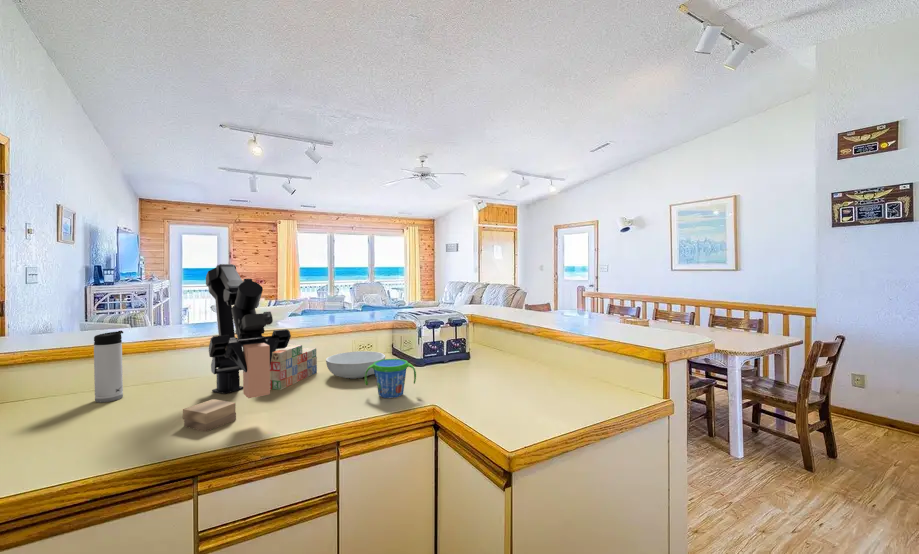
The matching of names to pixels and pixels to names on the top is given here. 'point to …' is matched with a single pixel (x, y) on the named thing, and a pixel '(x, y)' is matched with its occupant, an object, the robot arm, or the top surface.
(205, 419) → the tower top
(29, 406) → the top surface
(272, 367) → the stack of blocks
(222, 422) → the tower base
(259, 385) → the pillar
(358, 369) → the serving bowl
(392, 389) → the snack cup
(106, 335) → the travel mug
